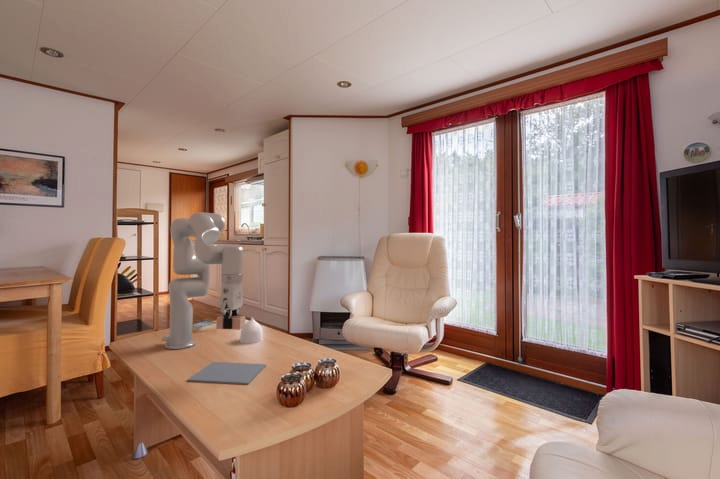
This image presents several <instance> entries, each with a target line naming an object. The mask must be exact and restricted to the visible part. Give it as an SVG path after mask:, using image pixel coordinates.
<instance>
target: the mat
mask: <svg viewBox="0 0 720 479" xmlns="http://www.w3.org/2000/svg"><path fill="white" fill-rule="evenodd" d="M266 367H267V364H265V363H250V362H249V363H246V362H245V363H244V362H225V361H211V362H210V363H209V364H208V365H206V366H205V367H203V368H202V369H200V370H199V371H198V372H196V373H194V374H193V375H192V376H190V377H188V378H187V381H186V382H193V383H194V382H195V383H196V382H197V383H212V384H215V383H216V384H230V385H231V384H233V385H247V386H248V385H250V384H251V383H252V382H253V380H254V379H255V378H256V377H257V376H258V375H259V374H260V373H261V372H262V371H263V369H265V368H266Z"/></svg>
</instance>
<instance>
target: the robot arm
mask: <svg viewBox="0 0 720 479" xmlns="http://www.w3.org/2000/svg"><path fill="white" fill-rule="evenodd" d="M225 226H226V221H225V218H224V217H223V216H222V215H221V214H219V213H212V212H201V211H200V212H199V211H198V212H194V213H192V214H191V215H190V216H189V217H183V218H182V217H181V218H179V217H178V218H175V219H173V221H172V222H171V224H170V237H171V240H172V244H173V258H172V269H173V273H174V274H175V275H179V276H183V275H184V276H188V275H189V276H190V275H196V276H191V277H189V276H188V277H177V278H174V279H172V280H171V281H170V282H169V283H168V295H169V333H168V335H163V336H162V337H161V341H162V342H164V341H166V343H165V344H164V347H165V348H166V349H168V350H181V349H188V348H191V347H193V346H194V345H196V340H194V339H193V320H194V319H193V318H194V315H193V314H194V306H193V304H192V303H191V301H190V300H189V299H190V298H199V297H204V296H206V295H207V294H208V293H209V290H210V283H211V282H210V281H211V280H210V279H211V278H210V277H211V265H221V273H220V274H221V276H220V277H221V280H220V283H221V290H220V299H219V300H220V301H219V305H220V314H222V315H223V329H222V330H233V329H232V318H231V316H239V314H240V313H239V312H240V308H241V307H243V305H244V289H243V280H244V279H243V278H244V276H243V272H244V270H243V269H244V249H243V246H239V245H238V246H237V245H231V244H215V243H216V242H217V241H218V240H219V239H220V236H221V233H222V232H223V231H224V229H225ZM190 237H191V238H195V241H194V242H193V241H192V239H191V238H190ZM222 315H221V316H222Z"/></svg>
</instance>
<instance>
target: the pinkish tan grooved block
mask: <svg viewBox="0 0 720 479" xmlns="http://www.w3.org/2000/svg"><path fill="white" fill-rule="evenodd" d="M231 318H232V329H231V330H238V331H239V330H240V331H241V330H242V328H244V327H245V324H246V316H244V315H243V316H242V315H238V316H231ZM215 328H216V329H217V330H224V329H223V315H220V316H217V317H216V326H215ZM216 329H215V330H216Z"/></svg>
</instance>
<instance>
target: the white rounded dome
mask: <svg viewBox="0 0 720 479" xmlns="http://www.w3.org/2000/svg"><path fill="white" fill-rule="evenodd" d="M263 334H264V332H263V328H262V326H261V325H260V323H259V322H257V321H256V320H255V319H254V318H253V316H251V319H250V320H249V321H246V322H245V327H244V328H242V329H240V338H239V342H240V343H242V344H258V343H261V342H263V341H264V335H263Z"/></svg>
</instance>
